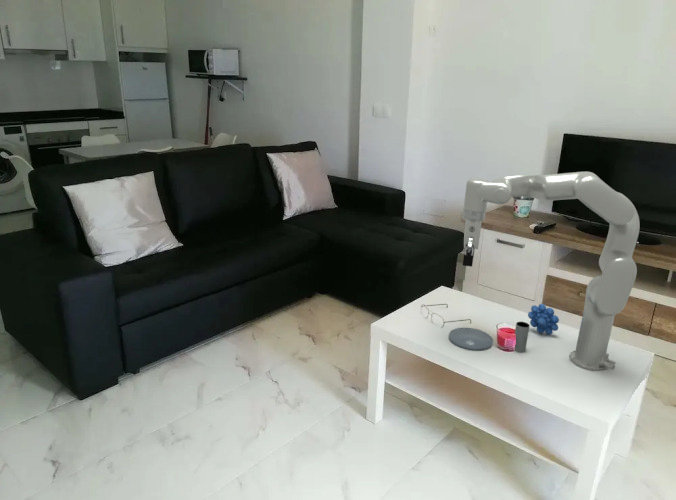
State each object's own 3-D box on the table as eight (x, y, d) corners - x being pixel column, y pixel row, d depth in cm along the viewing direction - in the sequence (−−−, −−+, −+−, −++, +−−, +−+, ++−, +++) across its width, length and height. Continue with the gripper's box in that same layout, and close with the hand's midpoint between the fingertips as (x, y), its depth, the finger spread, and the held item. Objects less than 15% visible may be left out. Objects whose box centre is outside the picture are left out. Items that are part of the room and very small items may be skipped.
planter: (511, 350, 188) (515, 325, 185) (513, 345, 192) (517, 320, 189) (524, 354, 187) (528, 328, 183) (526, 348, 190) (530, 323, 187)
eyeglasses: (417, 313, 217) (418, 302, 215) (447, 308, 223) (448, 297, 221) (440, 330, 203) (441, 318, 201) (471, 324, 209) (472, 312, 207)
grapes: (522, 333, 202) (527, 304, 198) (526, 326, 208) (531, 299, 204) (554, 341, 197) (559, 312, 193) (557, 334, 202) (563, 306, 198)
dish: (501, 344, 193) (502, 341, 193) (471, 355, 185) (472, 352, 184) (469, 326, 206) (469, 324, 205) (439, 336, 197) (440, 333, 197)
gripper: (484, 222, 171) (478, 270, 176) (485, 210, 186) (479, 255, 192) (461, 219, 173) (455, 267, 178) (464, 208, 188) (459, 252, 194)
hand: (468, 261), depth 185 cm, fingers open, 9 cm apart
